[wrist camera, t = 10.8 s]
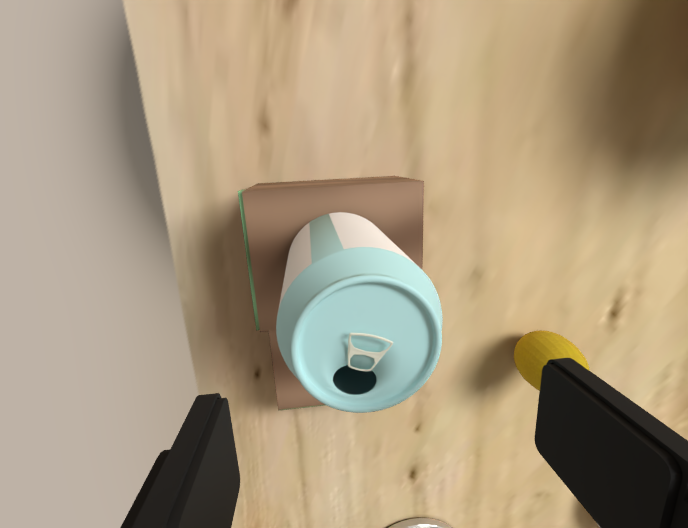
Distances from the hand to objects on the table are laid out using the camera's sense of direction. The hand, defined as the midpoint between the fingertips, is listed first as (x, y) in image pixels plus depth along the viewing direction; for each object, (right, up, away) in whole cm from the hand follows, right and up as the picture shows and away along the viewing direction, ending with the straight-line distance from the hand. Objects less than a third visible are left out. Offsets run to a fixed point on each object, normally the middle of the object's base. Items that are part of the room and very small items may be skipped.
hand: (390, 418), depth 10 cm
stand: (-2, +2, +23) cm, 24 cm away
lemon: (+18, -4, +28) cm, 33 cm away
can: (-2, +5, +15) cm, 15 cm away
